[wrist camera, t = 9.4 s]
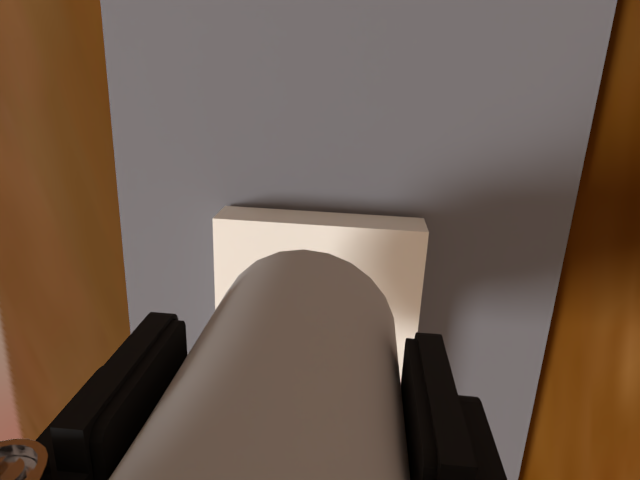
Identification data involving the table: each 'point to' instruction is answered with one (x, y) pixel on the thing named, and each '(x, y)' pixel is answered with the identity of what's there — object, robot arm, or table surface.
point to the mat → (365, 153)
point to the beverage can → (283, 383)
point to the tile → (330, 251)
